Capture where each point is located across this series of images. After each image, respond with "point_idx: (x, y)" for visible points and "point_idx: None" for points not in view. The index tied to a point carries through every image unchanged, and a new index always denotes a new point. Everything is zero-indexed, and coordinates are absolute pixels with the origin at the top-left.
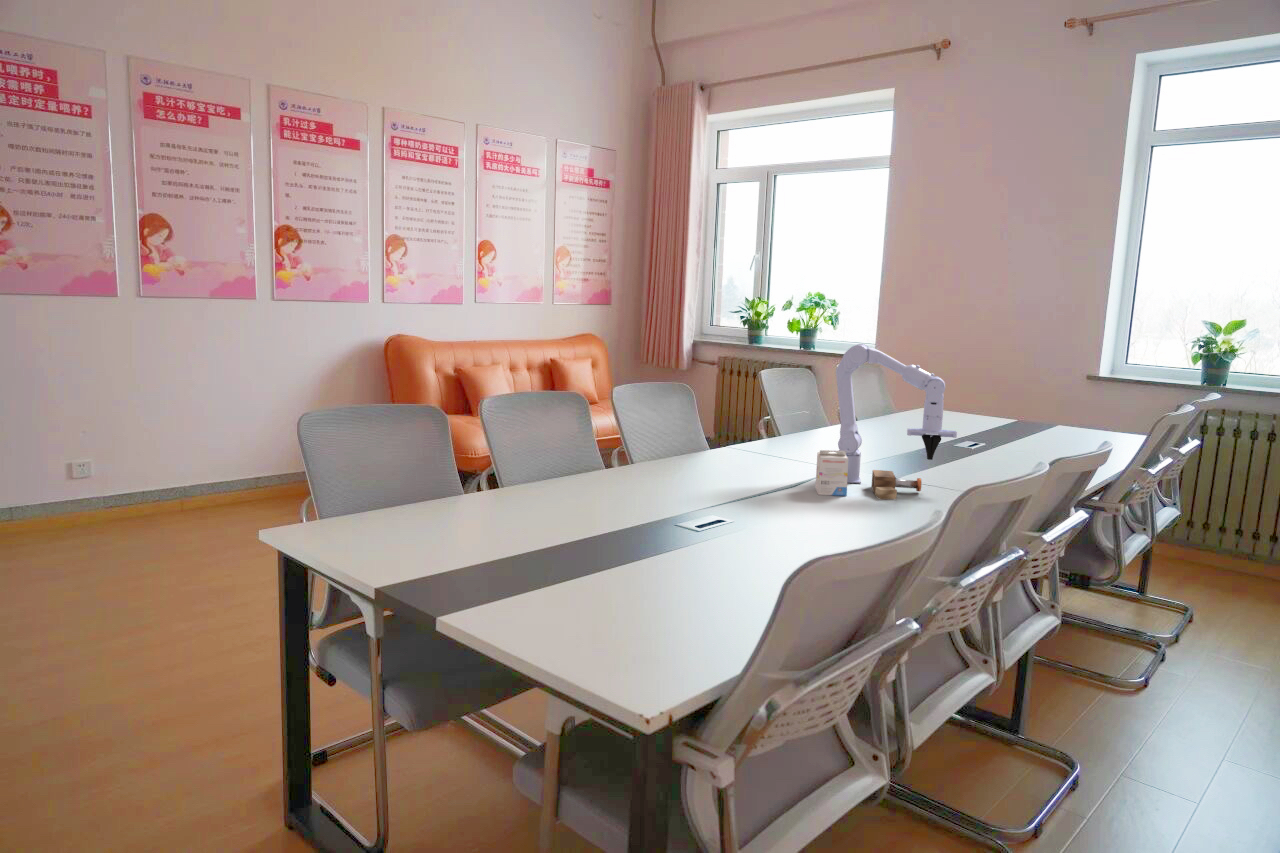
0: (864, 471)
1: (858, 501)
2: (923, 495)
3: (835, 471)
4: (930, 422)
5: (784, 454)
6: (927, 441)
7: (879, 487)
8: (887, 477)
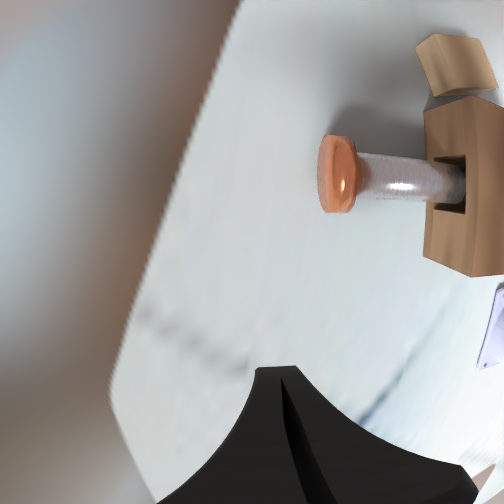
0: None
1: (494, 30)
2: (301, 130)
3: None
4: None
5: (487, 488)
6: (406, 477)
7: (488, 77)
8: (497, 105)
